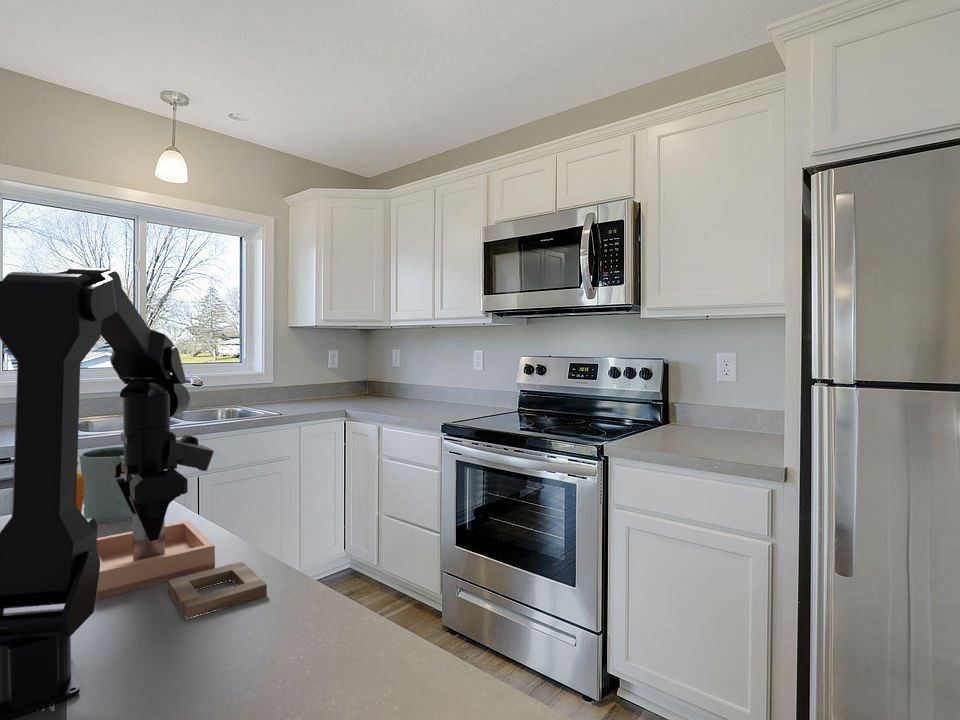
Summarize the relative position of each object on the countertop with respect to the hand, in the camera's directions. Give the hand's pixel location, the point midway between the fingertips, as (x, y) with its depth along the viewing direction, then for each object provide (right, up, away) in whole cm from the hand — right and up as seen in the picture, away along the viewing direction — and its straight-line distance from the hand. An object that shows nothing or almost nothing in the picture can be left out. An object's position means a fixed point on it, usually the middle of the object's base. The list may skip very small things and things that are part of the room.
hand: (148, 533), depth 78 cm
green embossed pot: (-20, -4, +23) cm, 30 cm away
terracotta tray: (0, -5, 0) cm, 5 cm away
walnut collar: (+14, -6, -8) cm, 17 cm away
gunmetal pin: (0, -4, 0) cm, 4 cm away
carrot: (-19, -5, +9) cm, 21 cm away
